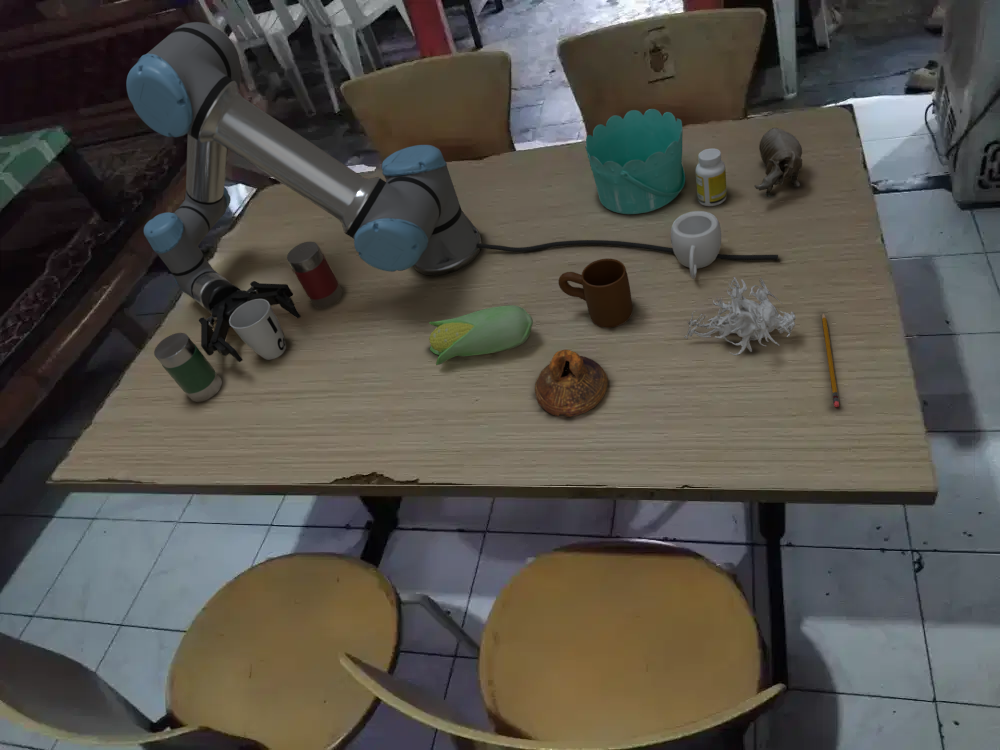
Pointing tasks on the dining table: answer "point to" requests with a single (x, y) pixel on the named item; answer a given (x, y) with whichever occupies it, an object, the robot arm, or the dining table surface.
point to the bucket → (637, 161)
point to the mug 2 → (696, 239)
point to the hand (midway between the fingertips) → (267, 333)
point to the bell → (570, 384)
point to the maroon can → (315, 274)
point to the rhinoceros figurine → (779, 158)
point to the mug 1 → (602, 291)
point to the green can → (188, 367)
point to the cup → (259, 328)
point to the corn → (480, 332)
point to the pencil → (830, 362)
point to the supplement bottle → (711, 178)
